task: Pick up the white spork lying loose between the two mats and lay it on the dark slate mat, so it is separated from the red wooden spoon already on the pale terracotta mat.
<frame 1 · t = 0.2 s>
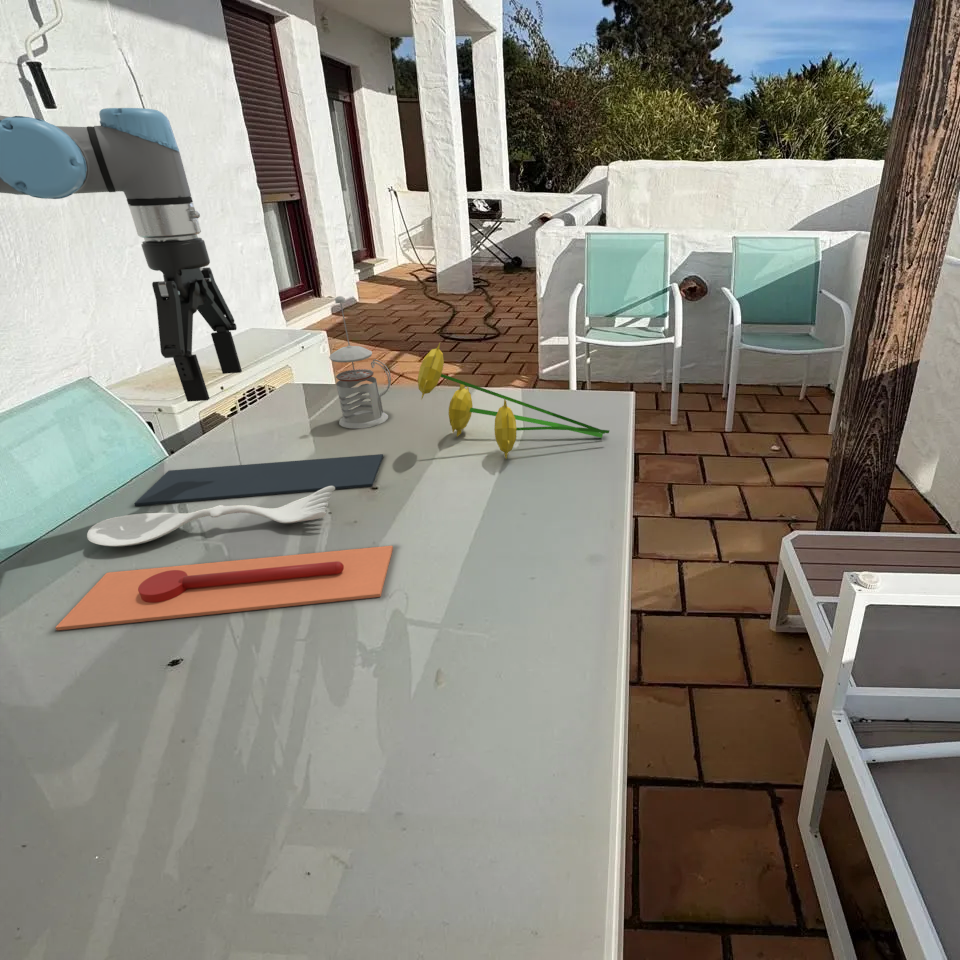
hand: (216, 385, 97), 17 cm above the table, tool pointing down, fingers open, 13 cm apart
slate mat: (268, 479, 107), on the table
flowers: (516, 442, 119), on the table
white spork: (219, 530, 92), on the table
french press: (368, 420, 131), on the table
red spoon: (244, 576, 79), on the terracotta mat
terracotta mat: (240, 585, 80), on the table
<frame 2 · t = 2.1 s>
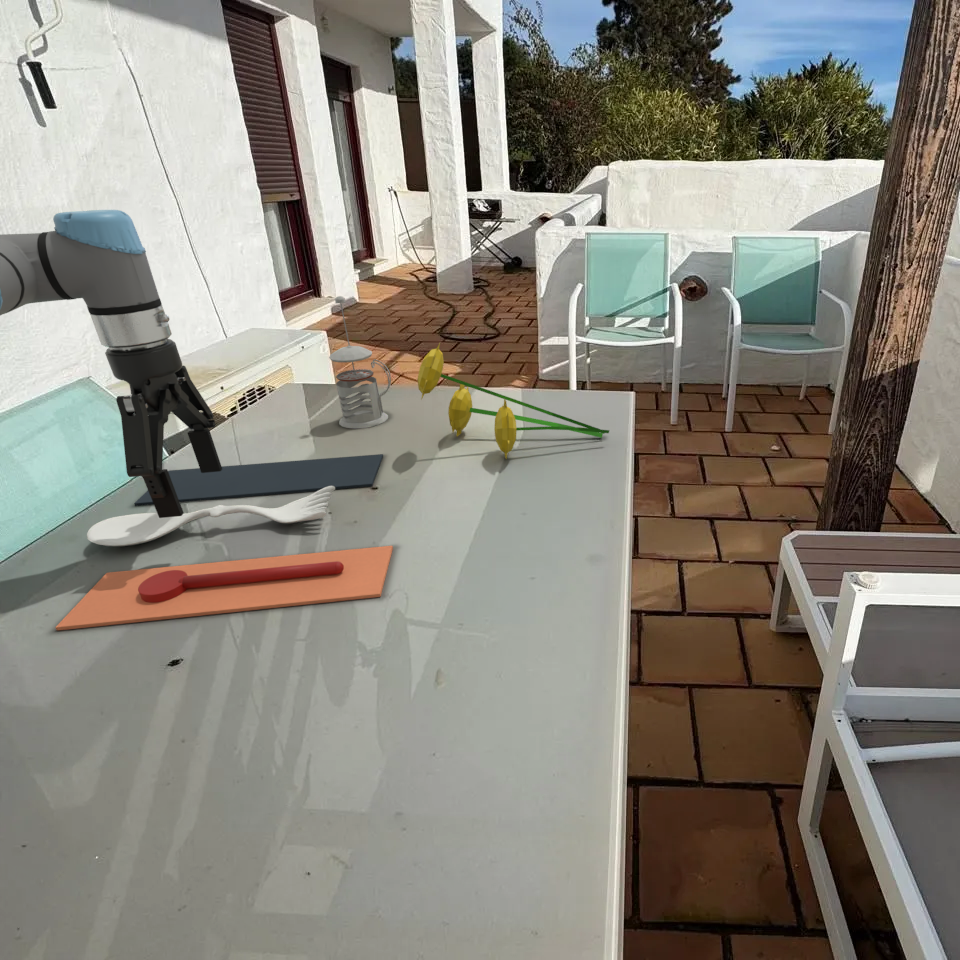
hand: (193, 492, 89), 6 cm above the table, tool pointing down, fingers open, 13 cm apart
nothing on the table moved.
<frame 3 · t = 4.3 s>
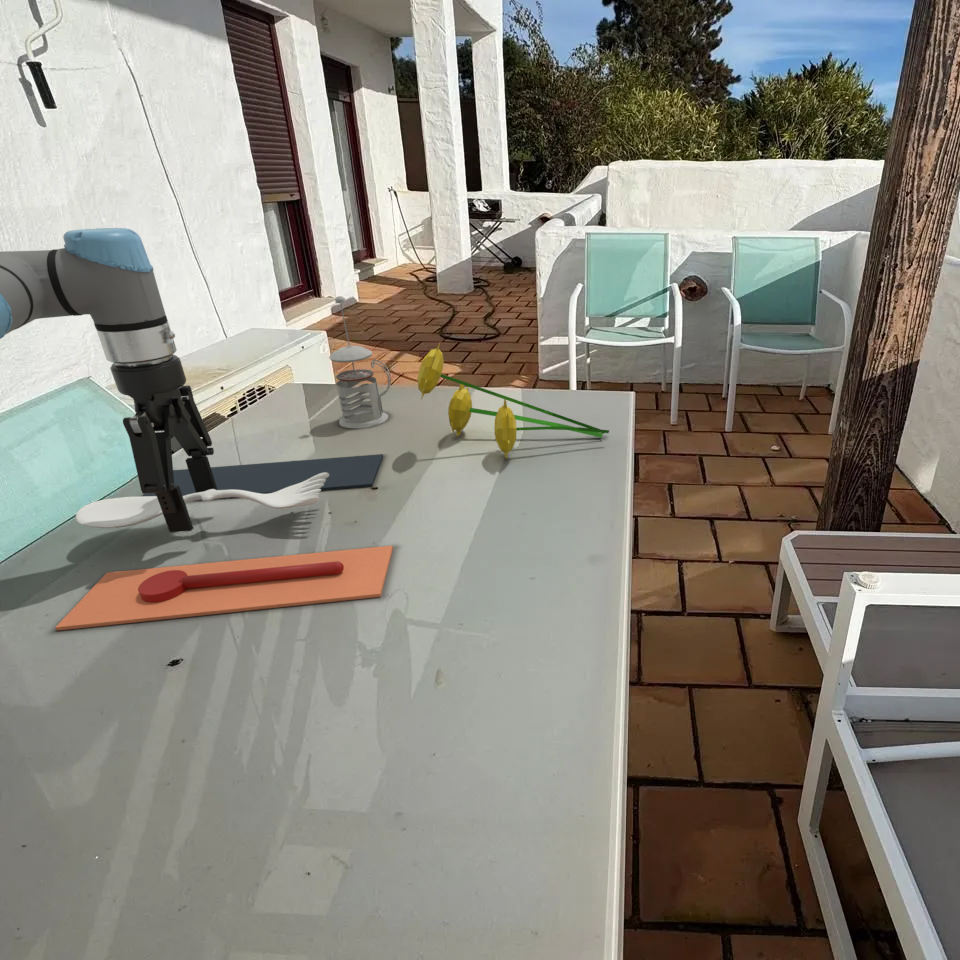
hand: (195, 513, 91), 3 cm above the table, tool pointing down, fingers closed on white spork, 9 cm apart
white spork: (210, 514, 91), point 2 cm above the table, touching gripper
everything else where it was.
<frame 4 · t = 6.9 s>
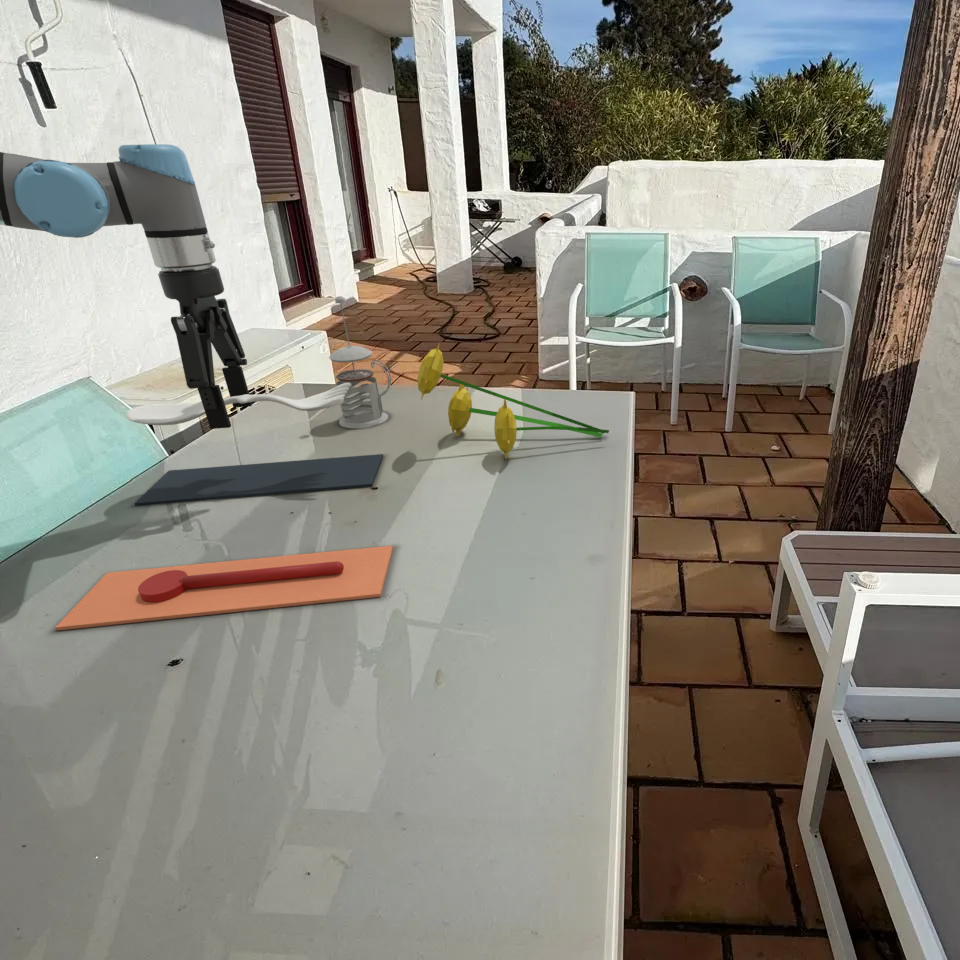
hand: (232, 416, 100), 12 cm above the table, tool pointing down, fingers closed on white spork, 9 cm apart
white spork: (245, 417, 101), point 12 cm above the table, touching gripper
everything else where it was.
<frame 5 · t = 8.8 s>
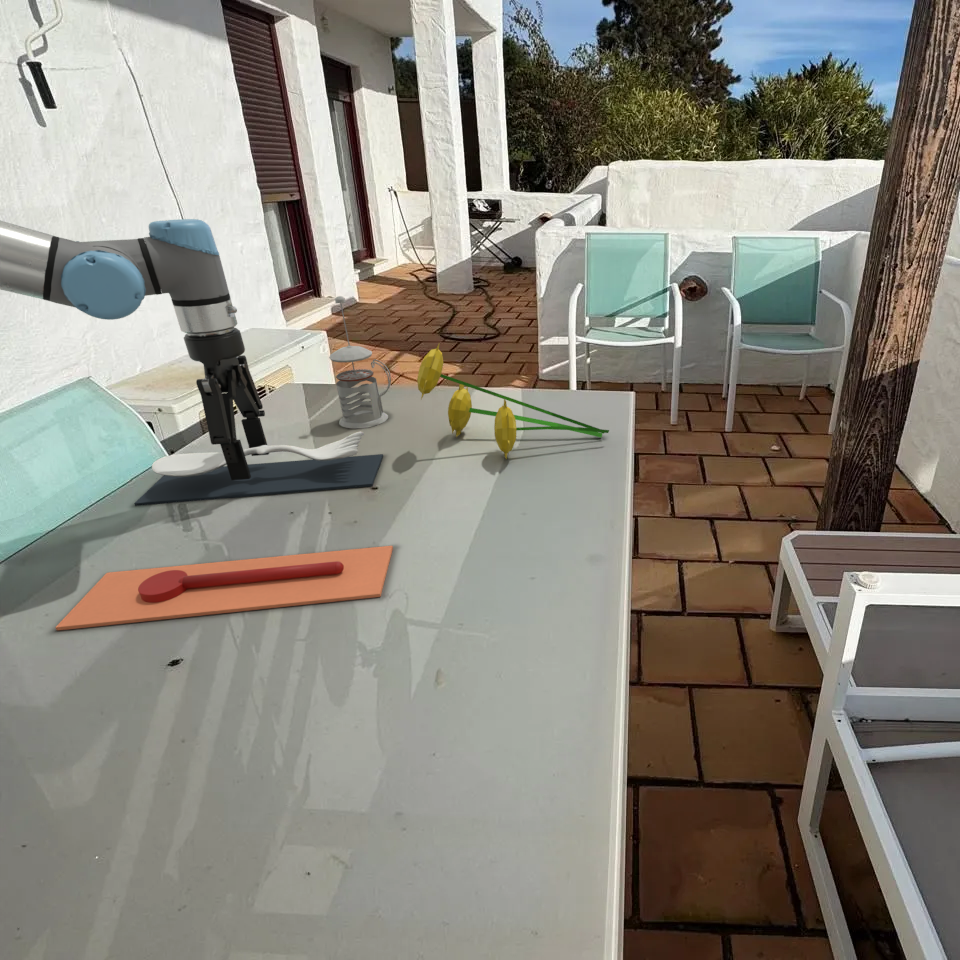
hand: (251, 465, 105), 3 cm above the table, tool pointing down, fingers closed on white spork, 9 cm apart
white spork: (264, 467, 106), point 2 cm above the table, touching gripper
everything else where it was.
when the fingers open (1 cm above the table, at t = 9.7 s): white spork stays where it is, resting on slate mat.
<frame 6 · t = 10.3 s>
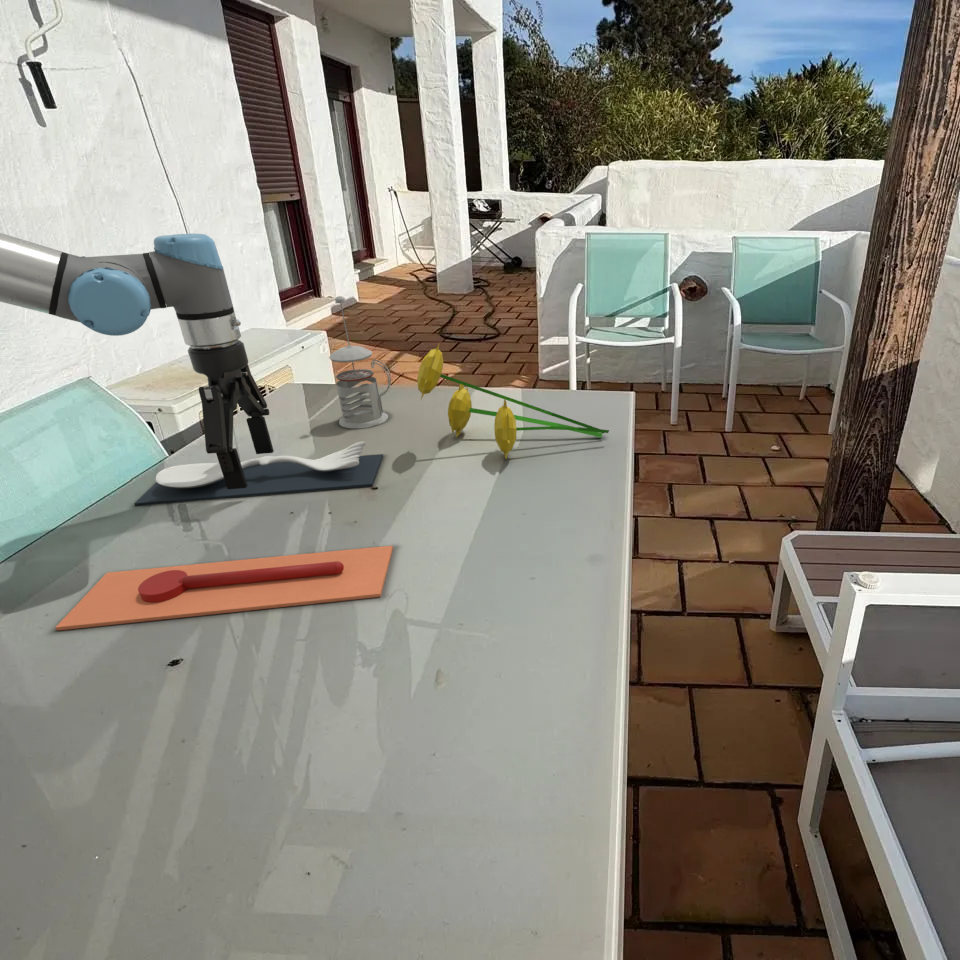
hand: (252, 469, 106), 2 cm above the table, tool pointing down, fingers open, 13 cm apart
white spork: (266, 477, 107), resting on slate mat
everything else where it was.
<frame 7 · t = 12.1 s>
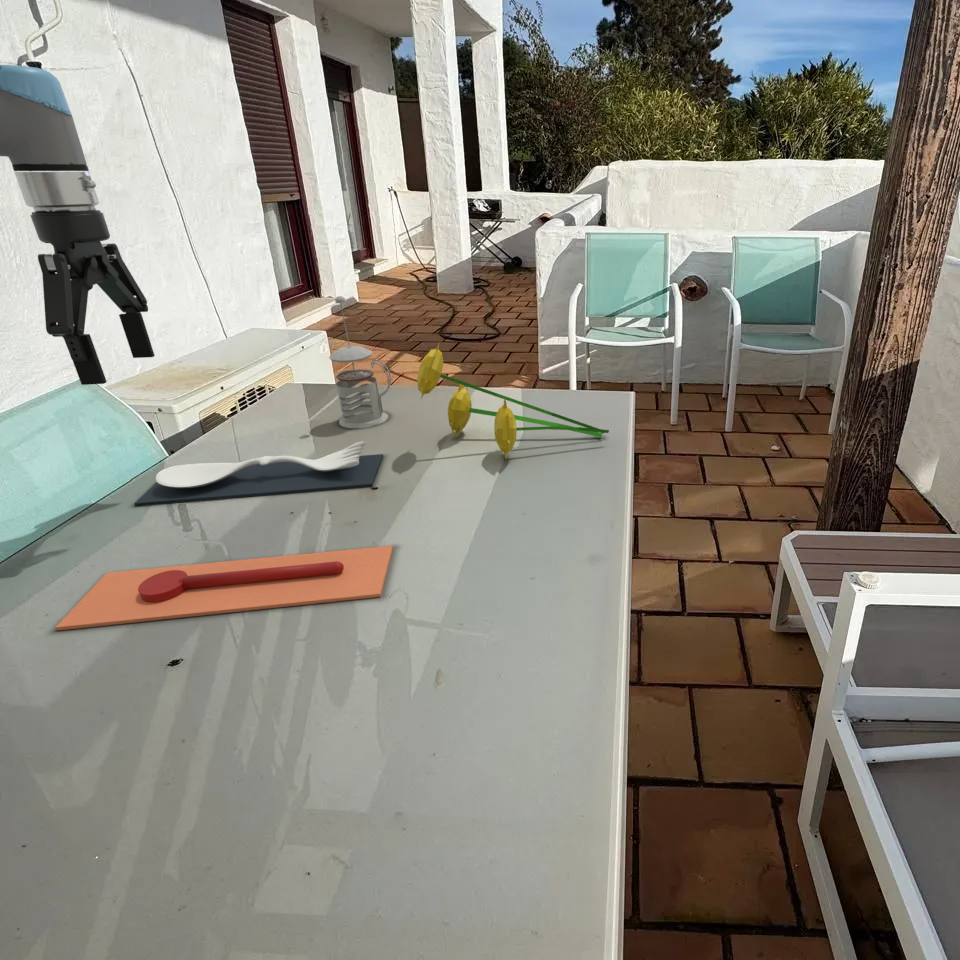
hand: (120, 369, 91), 21 cm above the table, tool pointing down, fingers open, 13 cm apart
nothing on the table moved.
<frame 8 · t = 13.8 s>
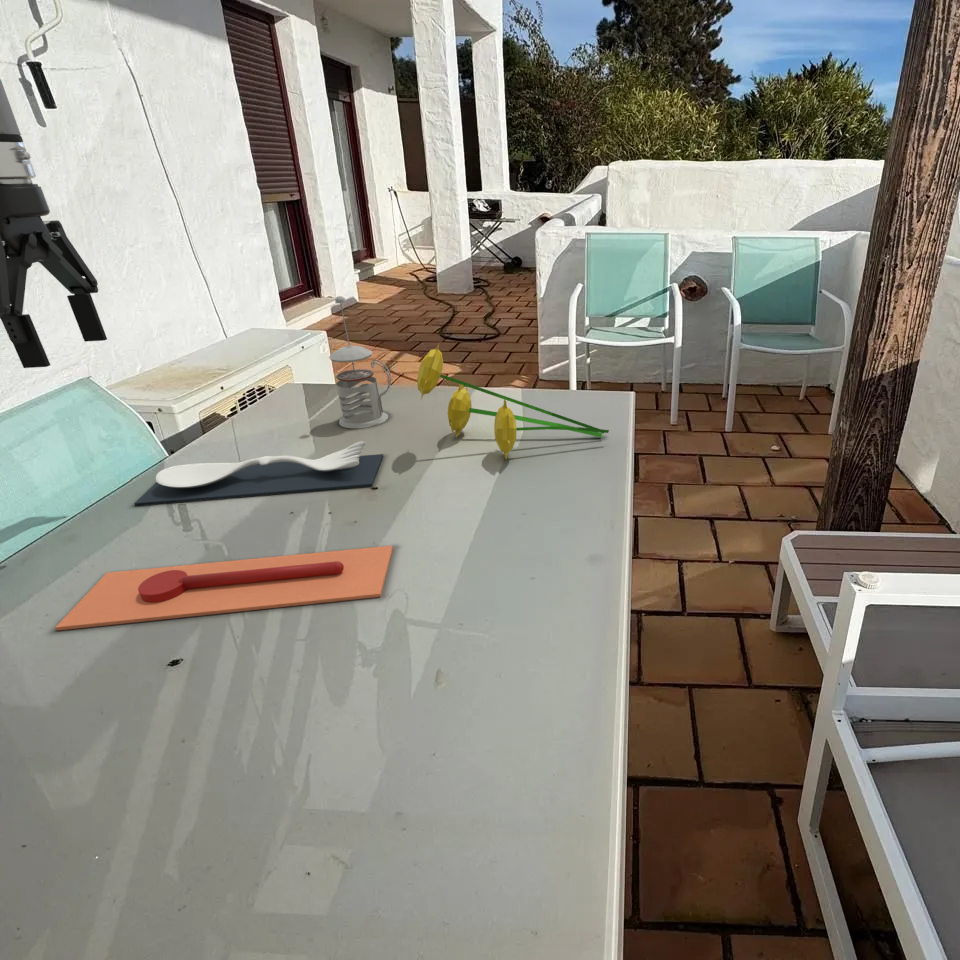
hand: (68, 352, 87), 25 cm above the table, tool pointing down, fingers open, 13 cm apart
nothing on the table moved.
at the end: white spork inside the target area (0.2 cm from its centre), on the table; red spoon inside the target area (0.0 cm from its centre), point 1.3 cm above the table; the gripper is holding nothing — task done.
